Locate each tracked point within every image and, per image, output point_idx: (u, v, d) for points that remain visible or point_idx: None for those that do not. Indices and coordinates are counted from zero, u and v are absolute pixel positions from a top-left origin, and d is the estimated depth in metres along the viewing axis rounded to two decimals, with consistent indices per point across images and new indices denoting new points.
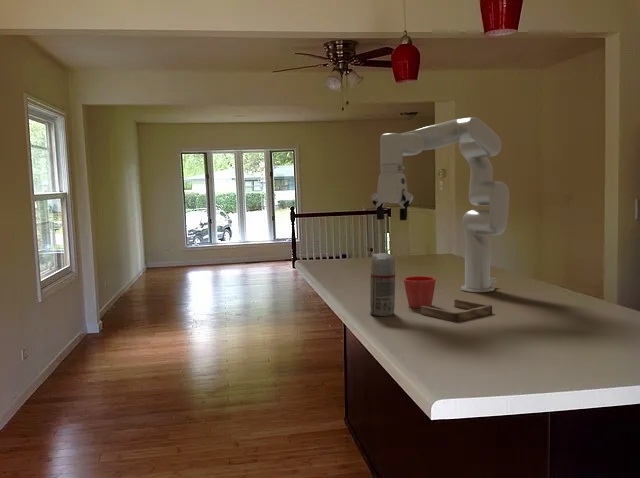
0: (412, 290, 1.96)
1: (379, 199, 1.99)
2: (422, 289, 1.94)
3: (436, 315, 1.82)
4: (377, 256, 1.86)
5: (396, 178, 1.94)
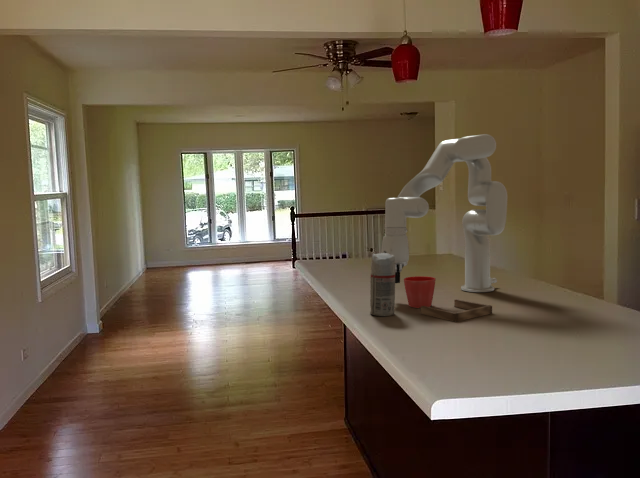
0: (412, 290, 1.96)
1: None
2: (422, 289, 1.94)
3: (436, 315, 1.82)
4: (377, 256, 1.86)
5: (407, 240, 2.08)
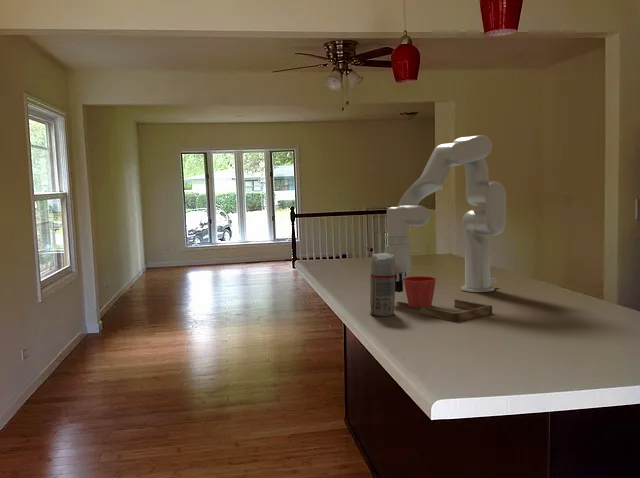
0: (412, 290, 1.96)
1: None
2: (422, 289, 1.94)
3: (436, 315, 1.82)
4: (377, 256, 1.86)
5: (409, 249, 2.07)
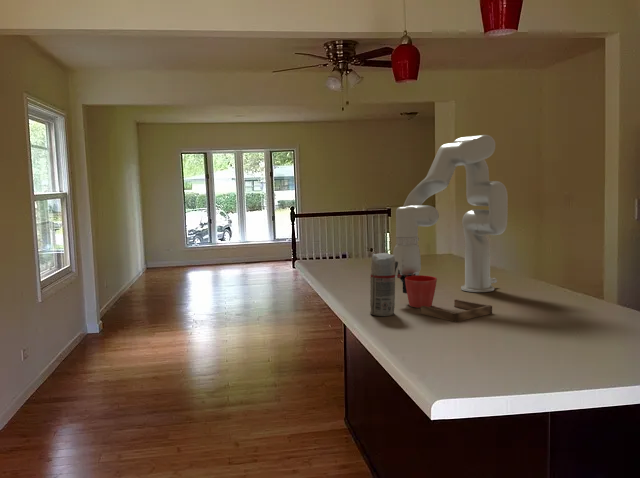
0: (413, 290, 1.95)
1: (403, 271, 2.00)
2: (423, 289, 1.94)
3: (436, 315, 1.82)
4: (377, 256, 1.86)
5: (418, 249, 2.03)
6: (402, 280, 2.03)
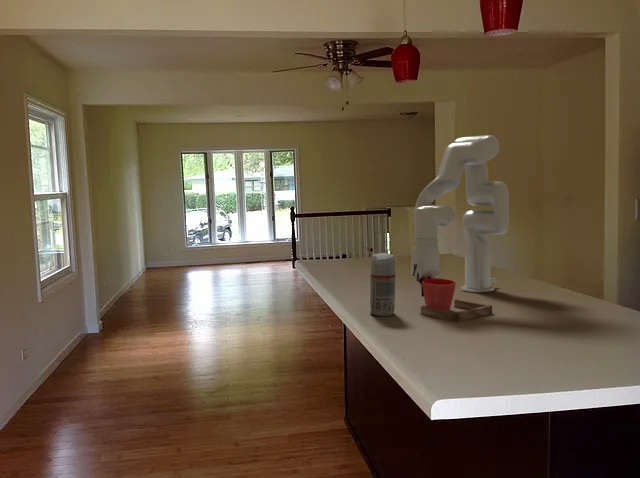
0: (428, 293, 1.88)
1: (423, 274, 1.92)
2: (438, 293, 1.86)
3: (436, 315, 1.82)
4: (377, 256, 1.86)
5: (438, 251, 1.96)
6: (421, 283, 1.95)
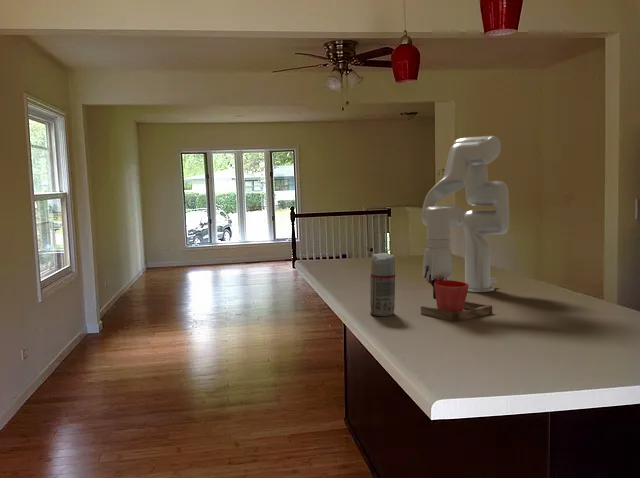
0: (440, 295, 1.84)
1: (435, 276, 1.88)
2: (451, 295, 1.82)
3: (436, 315, 1.82)
4: (377, 256, 1.86)
5: (450, 252, 1.91)
6: (433, 285, 1.91)
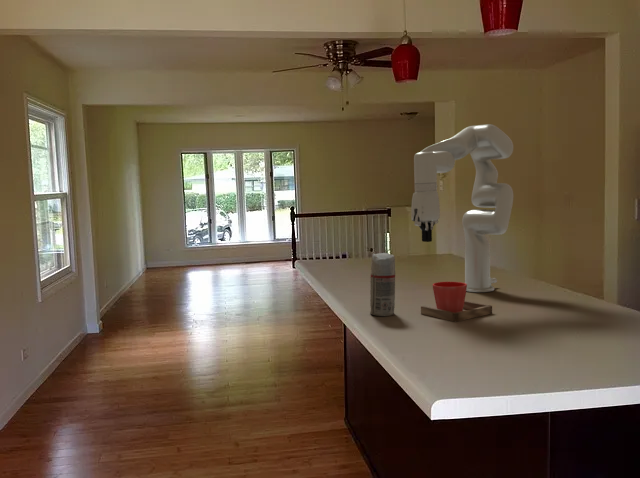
0: (439, 296, 1.84)
1: (423, 218, 1.95)
2: (449, 295, 1.82)
3: (436, 315, 1.82)
4: (377, 256, 1.86)
5: (437, 196, 1.98)
6: (421, 228, 1.98)
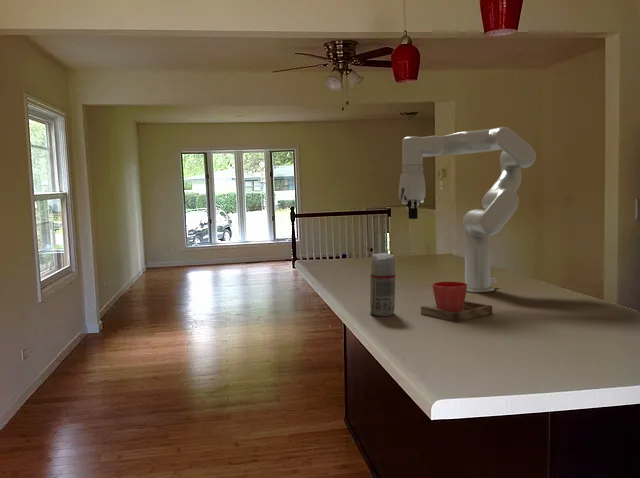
0: (439, 296, 1.84)
1: (409, 197, 2.13)
2: (449, 295, 1.82)
3: (436, 315, 1.82)
4: (377, 256, 1.86)
5: (423, 177, 2.17)
6: (408, 206, 2.16)
